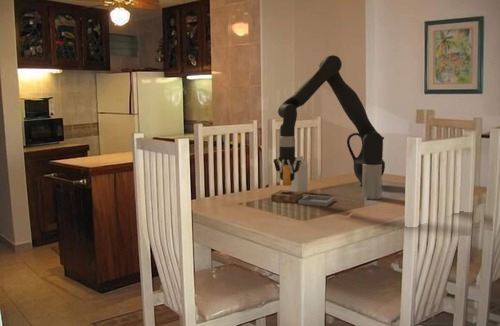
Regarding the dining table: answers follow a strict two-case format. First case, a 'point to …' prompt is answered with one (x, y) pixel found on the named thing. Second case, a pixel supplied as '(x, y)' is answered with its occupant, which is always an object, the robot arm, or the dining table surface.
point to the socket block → (287, 196)
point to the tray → (316, 200)
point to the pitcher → (360, 160)
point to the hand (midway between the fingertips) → (287, 180)
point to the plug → (286, 175)
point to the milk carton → (300, 177)
